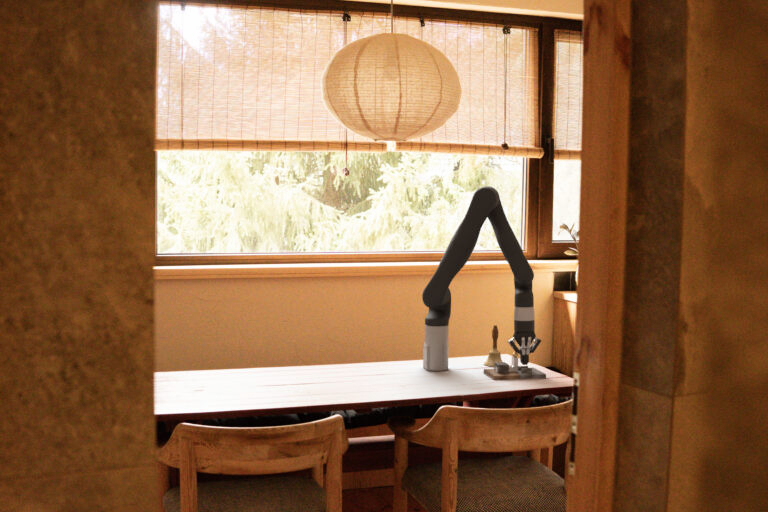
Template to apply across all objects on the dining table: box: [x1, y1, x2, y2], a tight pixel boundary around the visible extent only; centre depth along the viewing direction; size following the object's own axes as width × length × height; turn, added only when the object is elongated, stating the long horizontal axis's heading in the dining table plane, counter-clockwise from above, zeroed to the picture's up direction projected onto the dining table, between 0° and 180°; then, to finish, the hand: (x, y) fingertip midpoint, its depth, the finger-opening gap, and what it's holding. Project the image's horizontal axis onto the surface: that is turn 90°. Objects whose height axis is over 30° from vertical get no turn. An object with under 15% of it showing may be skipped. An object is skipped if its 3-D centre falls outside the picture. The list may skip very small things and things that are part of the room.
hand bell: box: [483, 324, 503, 368], centre depth 283 cm, size 8×8×16 cm
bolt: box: [494, 352, 519, 372], centre depth 263 cm, size 8×2×7 cm, turn 100°
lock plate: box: [483, 361, 547, 381], centre depth 263 cm, size 20×12×5 cm, turn 100°
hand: (524, 364), depth 264 cm, fingers closed
